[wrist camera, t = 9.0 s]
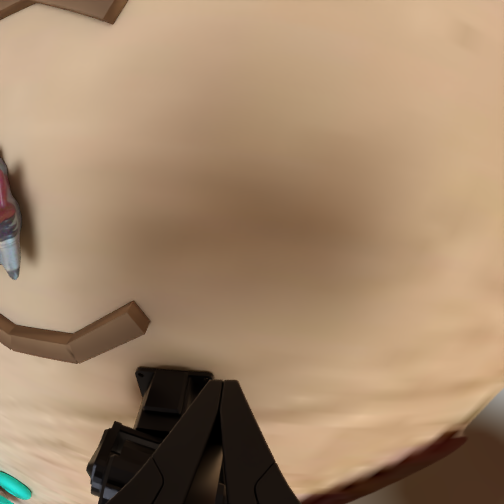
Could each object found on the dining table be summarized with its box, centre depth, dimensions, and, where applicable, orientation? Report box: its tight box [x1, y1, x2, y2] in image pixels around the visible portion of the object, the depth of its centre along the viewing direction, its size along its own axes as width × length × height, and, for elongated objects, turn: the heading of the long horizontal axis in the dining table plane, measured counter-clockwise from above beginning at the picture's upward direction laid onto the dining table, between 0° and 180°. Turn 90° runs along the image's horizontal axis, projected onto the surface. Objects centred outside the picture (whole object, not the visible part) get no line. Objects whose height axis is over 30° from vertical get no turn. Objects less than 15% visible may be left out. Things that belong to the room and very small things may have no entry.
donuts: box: [0, 472, 31, 504], centre depth 41 cm, size 10×10×10 cm
